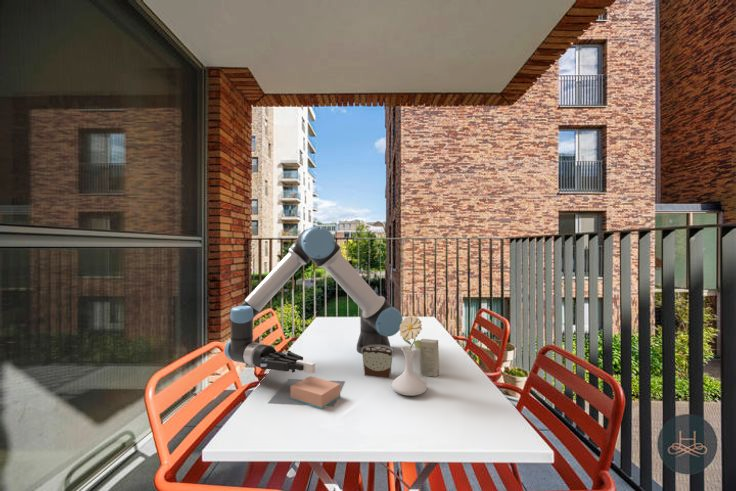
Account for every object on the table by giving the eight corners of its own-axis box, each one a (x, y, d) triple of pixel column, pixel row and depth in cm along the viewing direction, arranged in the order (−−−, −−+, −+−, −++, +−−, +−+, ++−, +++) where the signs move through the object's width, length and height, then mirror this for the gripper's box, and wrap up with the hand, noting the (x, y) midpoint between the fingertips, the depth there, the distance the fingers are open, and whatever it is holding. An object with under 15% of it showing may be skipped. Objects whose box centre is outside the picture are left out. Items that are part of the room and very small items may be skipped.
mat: (345, 383, 114) (345, 381, 114) (333, 408, 96) (333, 406, 96) (288, 380, 117) (288, 378, 117) (267, 405, 99) (267, 403, 99)
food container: (398, 373, 123) (397, 345, 123) (393, 379, 117) (393, 351, 117) (366, 369, 127) (366, 342, 127) (360, 375, 121) (360, 347, 121)
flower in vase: (385, 387, 111) (384, 311, 111) (415, 381, 115) (414, 309, 115) (404, 404, 99) (404, 319, 99) (437, 397, 103) (436, 316, 103)
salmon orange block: (290, 386, 101) (321, 395, 95) (310, 376, 109) (340, 383, 102) (290, 399, 101) (321, 409, 95) (310, 388, 109) (340, 397, 102)
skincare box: (439, 373, 123) (439, 339, 123) (436, 377, 119) (436, 343, 119) (422, 370, 125) (422, 338, 125) (419, 374, 121) (418, 341, 121)
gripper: (275, 360, 120) (326, 373, 108) (244, 372, 109) (298, 388, 97) (275, 339, 120) (326, 350, 108) (244, 349, 109) (298, 362, 97)
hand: (313, 368), depth 102 cm, fingers closed
